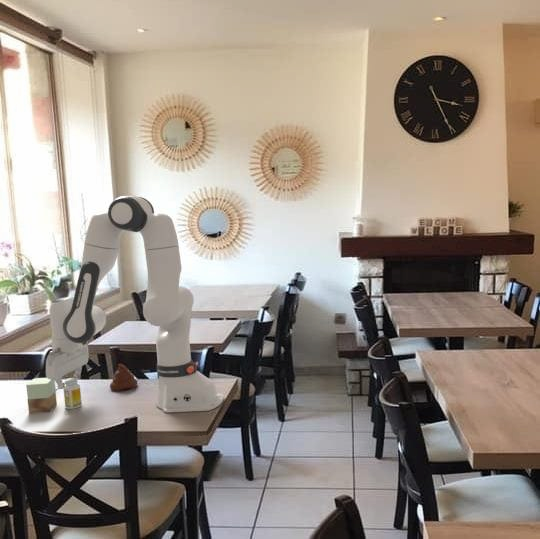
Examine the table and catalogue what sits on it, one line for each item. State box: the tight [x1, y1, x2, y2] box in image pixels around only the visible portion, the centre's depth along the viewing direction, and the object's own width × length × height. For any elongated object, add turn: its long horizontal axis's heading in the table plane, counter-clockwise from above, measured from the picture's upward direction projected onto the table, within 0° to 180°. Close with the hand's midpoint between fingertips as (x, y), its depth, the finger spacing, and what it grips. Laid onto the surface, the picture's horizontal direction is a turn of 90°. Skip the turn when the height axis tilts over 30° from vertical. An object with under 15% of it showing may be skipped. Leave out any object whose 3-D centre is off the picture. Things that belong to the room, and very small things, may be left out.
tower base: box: [27, 391, 58, 414], centre depth 198 cm, size 7×7×5 cm
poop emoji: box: [109, 363, 138, 392], centre depth 215 cm, size 10×8×9 cm
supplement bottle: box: [63, 377, 82, 410], centre depth 198 cm, size 5×5×10 cm
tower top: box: [25, 377, 56, 399], centre depth 197 cm, size 7×7×5 cm
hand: (69, 384), depth 197 cm, fingers open, 8 cm apart
